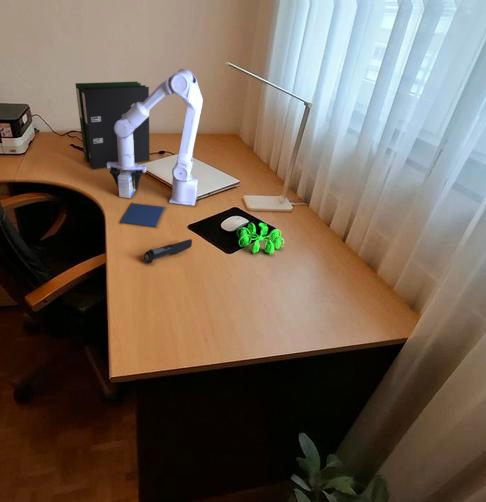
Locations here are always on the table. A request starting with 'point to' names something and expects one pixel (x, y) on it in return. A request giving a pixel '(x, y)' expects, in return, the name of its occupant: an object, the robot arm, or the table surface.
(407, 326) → the table surface
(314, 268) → the table surface
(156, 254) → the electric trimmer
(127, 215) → the cloth
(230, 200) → the table surface
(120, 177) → the medicine box
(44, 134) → the table surface
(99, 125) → the binder
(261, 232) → the green cluster
